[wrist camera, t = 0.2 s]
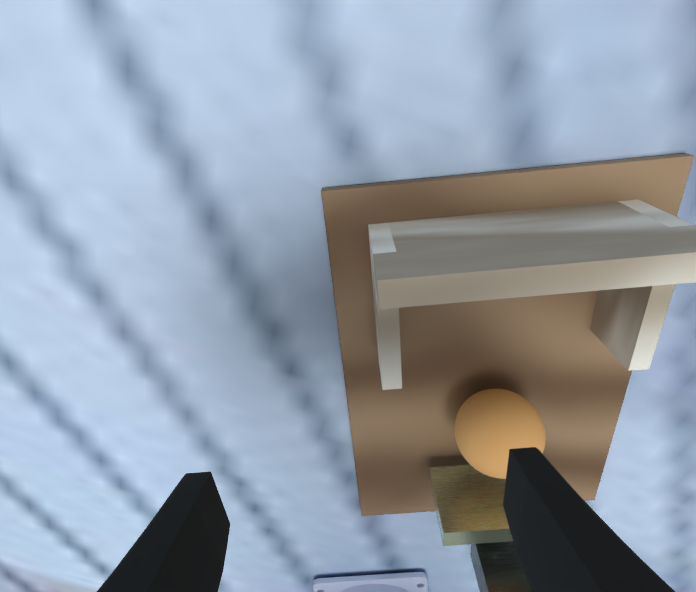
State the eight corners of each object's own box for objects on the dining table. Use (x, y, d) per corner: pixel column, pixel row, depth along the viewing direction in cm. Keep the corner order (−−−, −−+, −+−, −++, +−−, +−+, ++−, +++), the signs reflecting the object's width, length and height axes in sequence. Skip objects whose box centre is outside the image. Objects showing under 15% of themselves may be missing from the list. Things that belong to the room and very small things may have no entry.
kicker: (532, 517, 25) (604, 689, 18) (429, 524, 25) (462, 697, 18) (542, 459, 22) (630, 632, 16) (429, 467, 23) (467, 642, 16)
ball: (521, 427, 22) (554, 495, 19) (445, 433, 23) (464, 501, 19) (529, 367, 20) (568, 430, 17) (446, 374, 21) (468, 438, 17)
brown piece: (590, 492, 26) (647, 591, 21) (361, 508, 26) (365, 608, 21) (684, 153, 16) (829, 190, 11) (321, 188, 17) (313, 238, 12)
